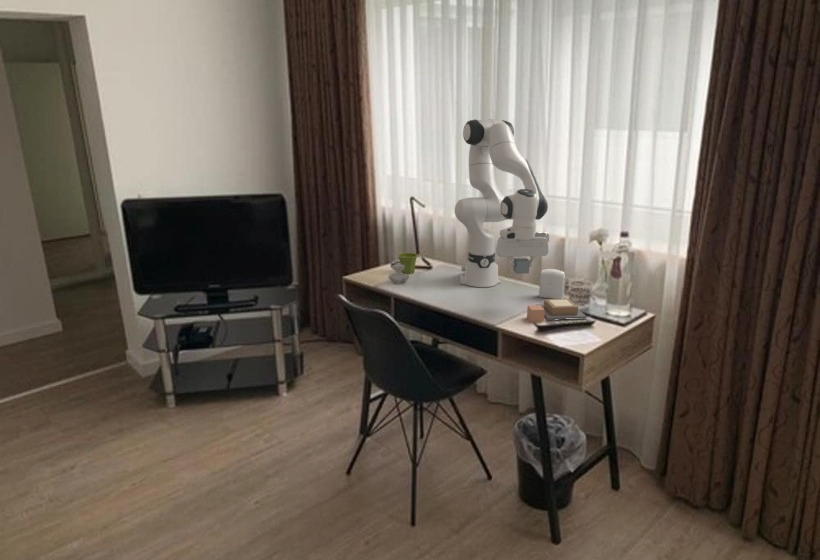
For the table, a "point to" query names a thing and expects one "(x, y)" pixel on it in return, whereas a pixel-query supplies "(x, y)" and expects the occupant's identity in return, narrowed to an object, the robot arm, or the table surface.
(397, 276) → the stamp
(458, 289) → the table surface
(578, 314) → the build plate
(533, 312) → the terracotta cube
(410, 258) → the plant pot
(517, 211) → the robot arm
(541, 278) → the photo printer
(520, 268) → the grey cube
